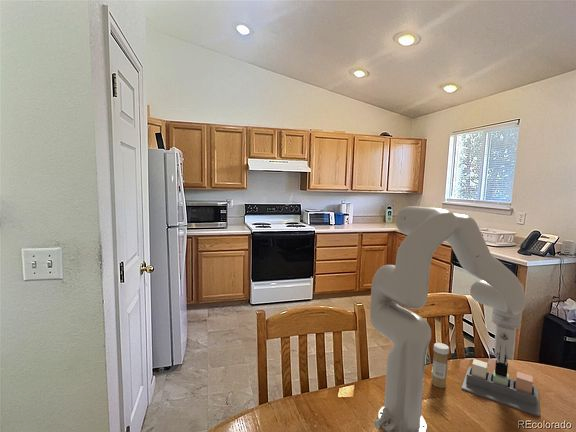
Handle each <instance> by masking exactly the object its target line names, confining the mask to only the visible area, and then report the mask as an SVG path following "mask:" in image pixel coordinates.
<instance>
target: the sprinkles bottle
mask: <svg viewBox="0 0 576 432" xmlns="http://www.w3.org/2000/svg"><path fill="white" fill-rule="evenodd" d="M449 353H450V348H449V346H448V345H447V344H445V343H442V342H436V343H434V344H433V356H432V357H433V359H432V371H431V372H432V373H431V374H432V376H431V384H432V385H433V386H434V387H436V388H440V389H444V388H446V387H447V378H448V377H447V376H448V363H449V362H448V360H449Z"/></svg>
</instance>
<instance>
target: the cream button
mask: <svg viewBox="0 0 576 432" xmlns="http://www.w3.org/2000/svg"><path fill="white" fill-rule="evenodd" d="M471 365H472V366H471V367H472V374H471V375H473V376H476V377H479V378H482V379H485V380H486V375H487V372H488V362H487V361H484V360H480V359H476V358H473V361H472V364H471Z"/></svg>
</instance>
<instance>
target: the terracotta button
mask: <svg viewBox="0 0 576 432" xmlns="http://www.w3.org/2000/svg"><path fill="white" fill-rule="evenodd" d="M515 380H516V386H515V389H516V390H519V391H522V392H525V393H528V394H532V386H534V385H533V383H534V381H533V375H531V374H526V373H523V372H520V371H516V376H515Z"/></svg>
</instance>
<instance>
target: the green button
mask: <svg viewBox="0 0 576 432" xmlns="http://www.w3.org/2000/svg"><path fill="white" fill-rule="evenodd" d="M493 373H494V374H493V382H495V383H498V384H501V385H504V386H507V387H508V378H509V377H510V374H509V373H507V377H504V376H501V375H498V374H495V369H493Z"/></svg>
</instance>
